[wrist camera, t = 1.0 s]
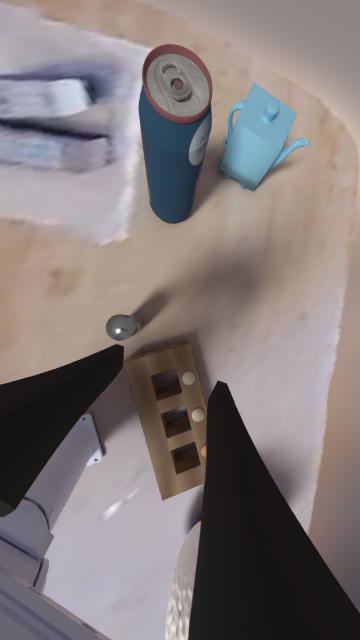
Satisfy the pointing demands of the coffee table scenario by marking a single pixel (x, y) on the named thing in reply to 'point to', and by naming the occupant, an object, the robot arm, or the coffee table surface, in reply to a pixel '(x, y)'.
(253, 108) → the teapot
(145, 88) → the soda can
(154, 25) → the coffee table surface
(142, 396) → the pin board
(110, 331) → the pin
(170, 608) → the white textured round lump
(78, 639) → the robot arm
